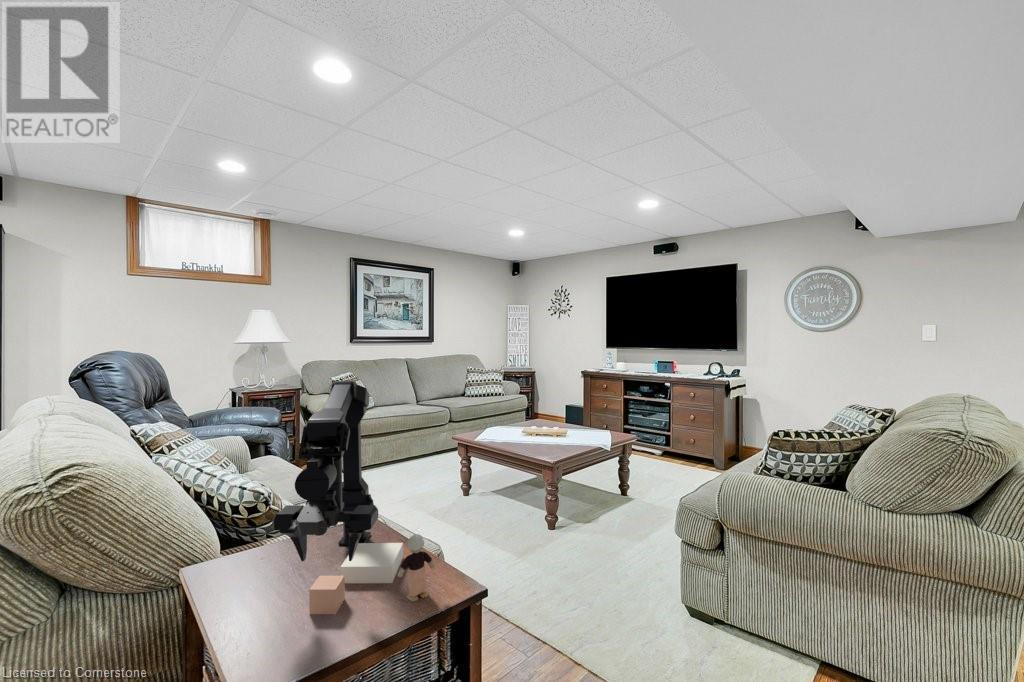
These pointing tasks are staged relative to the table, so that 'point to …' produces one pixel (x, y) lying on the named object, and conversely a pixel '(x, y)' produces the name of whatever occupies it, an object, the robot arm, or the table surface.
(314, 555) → the table surface
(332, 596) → the terracotta block
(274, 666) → the table surface
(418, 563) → the grandmother figurine
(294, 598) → the table surface
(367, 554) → the cream box
